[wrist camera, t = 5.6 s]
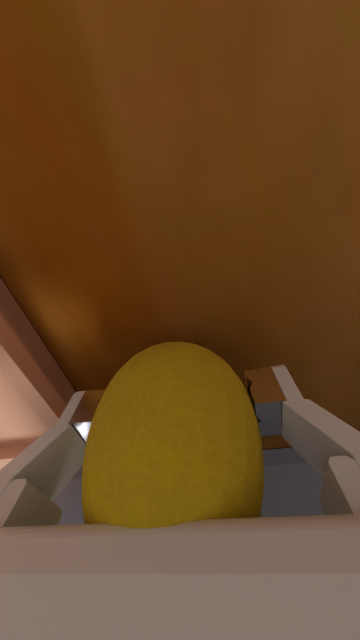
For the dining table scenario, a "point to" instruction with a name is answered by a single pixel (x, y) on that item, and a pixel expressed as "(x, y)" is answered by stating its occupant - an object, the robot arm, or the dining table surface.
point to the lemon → (173, 443)
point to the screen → (278, 496)
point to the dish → (26, 382)
